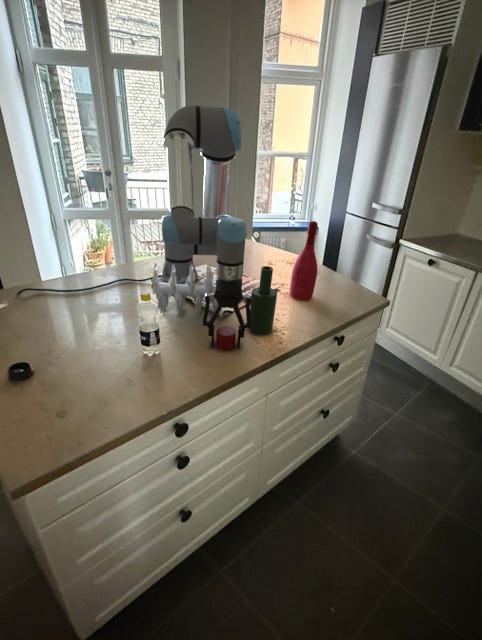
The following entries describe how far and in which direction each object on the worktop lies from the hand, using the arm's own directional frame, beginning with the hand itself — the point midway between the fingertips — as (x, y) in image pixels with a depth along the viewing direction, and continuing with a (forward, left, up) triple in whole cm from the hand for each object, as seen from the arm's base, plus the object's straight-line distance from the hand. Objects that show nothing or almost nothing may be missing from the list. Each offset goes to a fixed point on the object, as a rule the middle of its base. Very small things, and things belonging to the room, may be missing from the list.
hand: (225, 345), depth 117 cm
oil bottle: (+12, +12, 0) cm, 17 cm away
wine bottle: (+31, +41, 0) cm, 51 cm away
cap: (0, 0, 0) cm, 0 cm away
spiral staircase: (-13, +22, 0) cm, 25 cm away
